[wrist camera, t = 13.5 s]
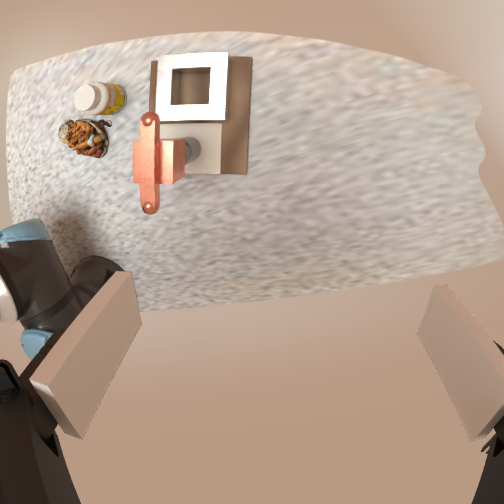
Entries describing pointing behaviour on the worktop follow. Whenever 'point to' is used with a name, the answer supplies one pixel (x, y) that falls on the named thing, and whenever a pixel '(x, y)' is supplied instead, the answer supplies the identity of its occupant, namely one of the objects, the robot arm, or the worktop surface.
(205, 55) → the eye block
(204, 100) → the board
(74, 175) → the worktop surface
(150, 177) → the copper link bar
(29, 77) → the worktop surface
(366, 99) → the worktop surface
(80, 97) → the supplement bottle
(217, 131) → the mat
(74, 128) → the brown mottled lumpy part
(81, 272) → the robot arm
